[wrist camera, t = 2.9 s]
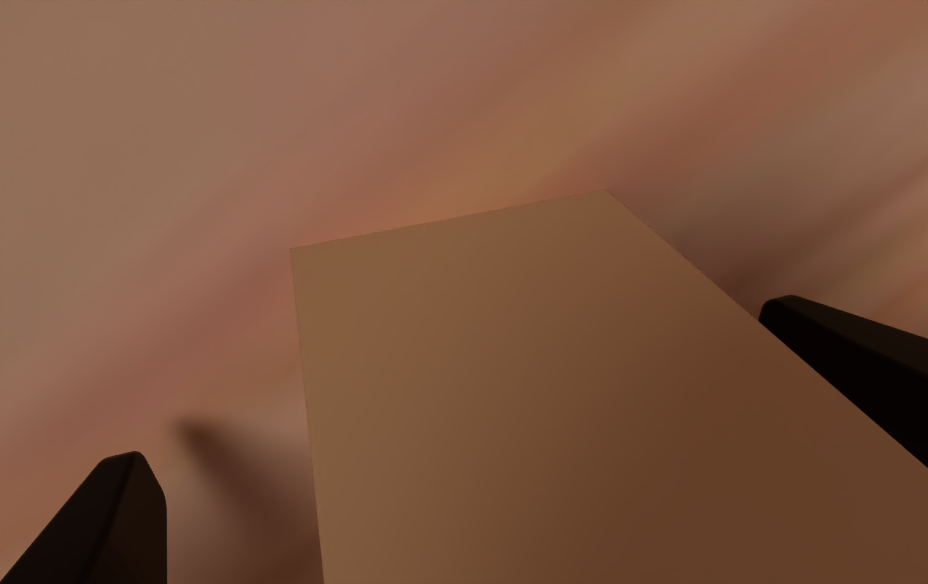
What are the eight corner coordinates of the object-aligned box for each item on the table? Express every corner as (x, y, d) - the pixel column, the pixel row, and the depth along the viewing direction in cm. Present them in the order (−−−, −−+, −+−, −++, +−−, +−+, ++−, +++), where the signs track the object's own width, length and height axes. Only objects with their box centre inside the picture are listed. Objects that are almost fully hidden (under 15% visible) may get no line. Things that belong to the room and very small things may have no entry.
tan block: (586, 408, 11) (839, 805, 6) (347, 471, 10) (430, 986, 5) (605, 188, 9) (1046, 571, 4) (289, 248, 8) (348, 838, 3)
